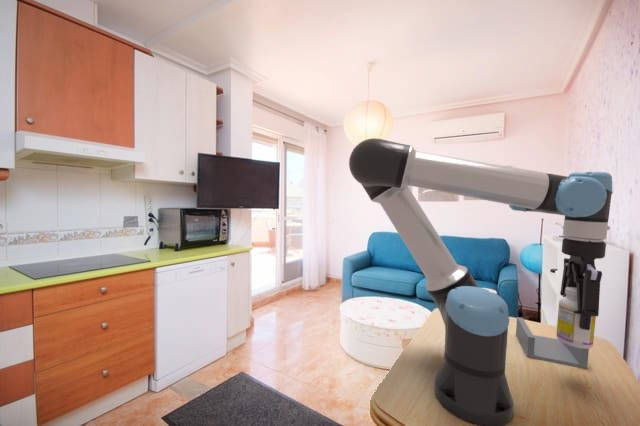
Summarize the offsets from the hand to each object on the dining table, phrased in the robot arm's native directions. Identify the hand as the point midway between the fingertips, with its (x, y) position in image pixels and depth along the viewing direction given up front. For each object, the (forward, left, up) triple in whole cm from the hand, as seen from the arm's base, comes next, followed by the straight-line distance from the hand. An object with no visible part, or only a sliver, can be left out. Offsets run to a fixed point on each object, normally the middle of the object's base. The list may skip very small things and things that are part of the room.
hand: (574, 334), depth 69 cm
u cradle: (-1, +15, -12) cm, 19 cm away
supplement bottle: (0, 0, -2) cm, 2 cm away
